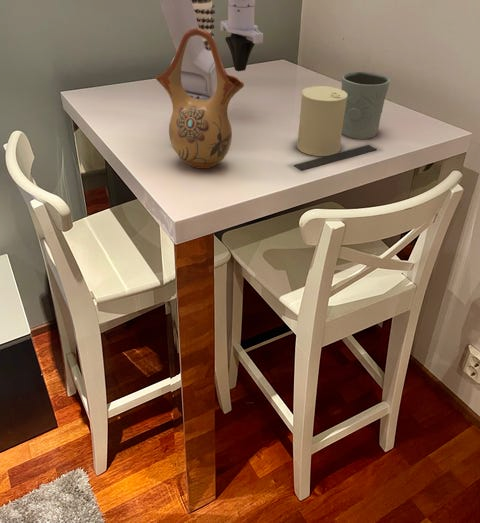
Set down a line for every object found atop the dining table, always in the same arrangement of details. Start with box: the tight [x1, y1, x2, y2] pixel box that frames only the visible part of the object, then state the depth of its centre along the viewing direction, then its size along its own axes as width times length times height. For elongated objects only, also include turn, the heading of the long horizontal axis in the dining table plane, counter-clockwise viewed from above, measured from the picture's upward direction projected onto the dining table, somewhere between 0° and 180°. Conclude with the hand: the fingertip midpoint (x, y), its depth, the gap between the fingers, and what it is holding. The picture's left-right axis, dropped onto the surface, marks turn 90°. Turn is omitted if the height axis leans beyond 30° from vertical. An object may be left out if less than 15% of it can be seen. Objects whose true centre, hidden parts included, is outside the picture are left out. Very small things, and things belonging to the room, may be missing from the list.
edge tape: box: [293, 144, 378, 171], centre depth 106 cm, size 20×2×1 cm, turn 122°
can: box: [296, 85, 348, 157], centre depth 106 cm, size 9×9×12 cm
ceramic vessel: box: [154, 28, 245, 169], centre depth 94 cm, size 16×9×25 cm, turn 76°
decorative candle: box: [191, 0, 216, 54], centre depth 138 cm, size 9×9×25 cm
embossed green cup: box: [340, 71, 391, 140], centre depth 114 cm, size 10×10×12 cm
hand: (240, 70), depth 119 cm, fingers closed
